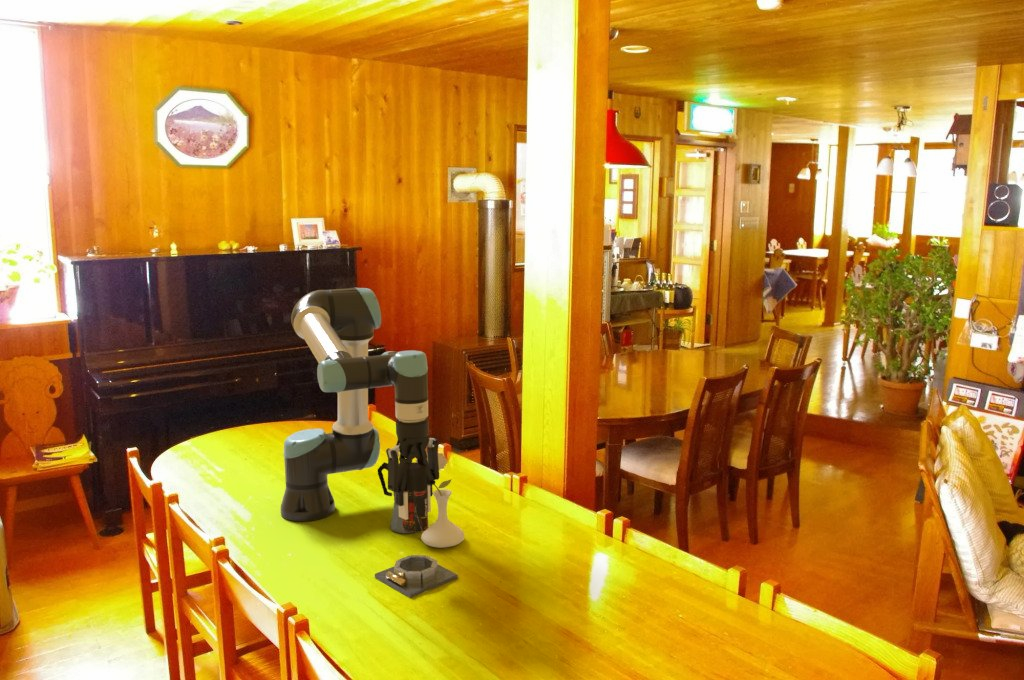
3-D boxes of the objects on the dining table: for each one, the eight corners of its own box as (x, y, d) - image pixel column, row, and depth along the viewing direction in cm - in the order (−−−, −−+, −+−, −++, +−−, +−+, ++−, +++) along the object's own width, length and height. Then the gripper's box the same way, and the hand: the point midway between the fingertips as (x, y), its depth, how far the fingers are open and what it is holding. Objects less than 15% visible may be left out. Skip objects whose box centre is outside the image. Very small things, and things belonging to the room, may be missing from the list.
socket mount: (374, 577, 198) (374, 563, 197) (421, 559, 208) (421, 546, 207) (410, 598, 188) (409, 583, 188) (457, 578, 198) (457, 564, 197)
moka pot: (426, 537, 221) (425, 465, 218) (372, 532, 224) (369, 461, 221) (437, 523, 230) (435, 454, 227) (384, 519, 233) (382, 450, 230)
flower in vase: (471, 537, 221) (470, 446, 217) (454, 554, 211) (453, 460, 206) (426, 530, 225) (424, 442, 221) (408, 547, 215) (405, 454, 210)
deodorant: (403, 523, 198) (401, 462, 195) (428, 522, 198) (426, 461, 196) (402, 533, 192) (400, 470, 190) (427, 532, 193) (426, 470, 190)
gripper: (387, 429, 182) (391, 529, 186) (454, 413, 195) (456, 507, 199) (368, 423, 187) (372, 520, 191) (434, 408, 200) (436, 499, 204)
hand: (414, 513), depth 195 cm, fingers closed on deodorant, 6 cm apart
